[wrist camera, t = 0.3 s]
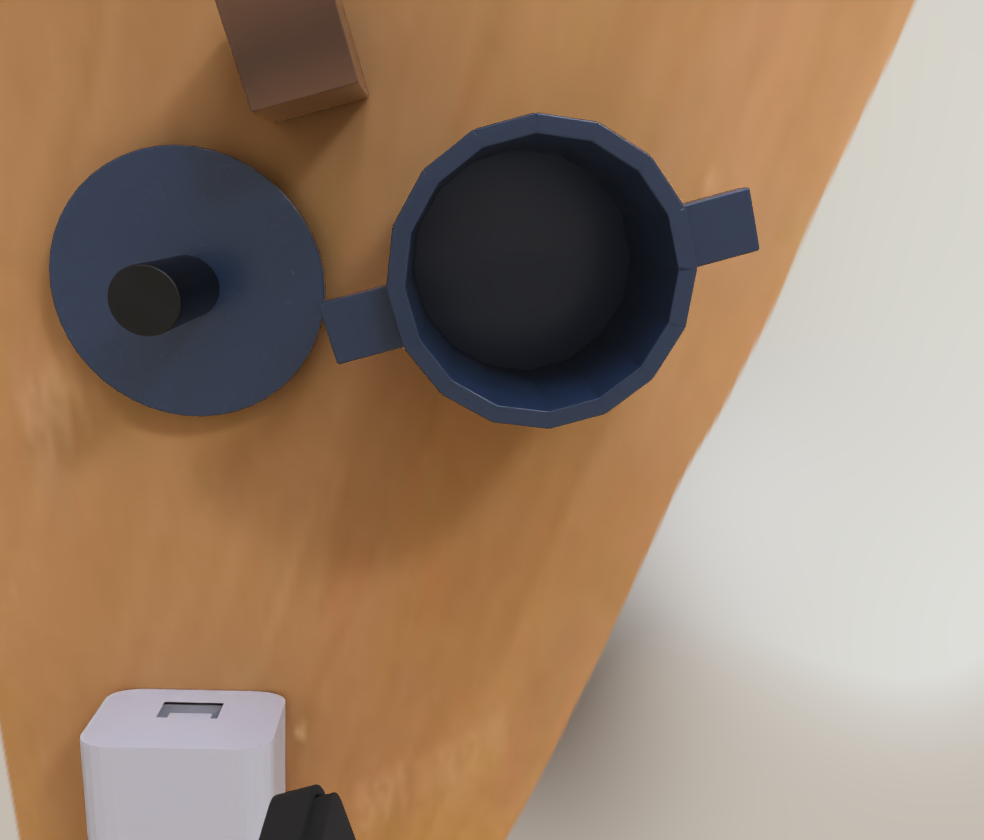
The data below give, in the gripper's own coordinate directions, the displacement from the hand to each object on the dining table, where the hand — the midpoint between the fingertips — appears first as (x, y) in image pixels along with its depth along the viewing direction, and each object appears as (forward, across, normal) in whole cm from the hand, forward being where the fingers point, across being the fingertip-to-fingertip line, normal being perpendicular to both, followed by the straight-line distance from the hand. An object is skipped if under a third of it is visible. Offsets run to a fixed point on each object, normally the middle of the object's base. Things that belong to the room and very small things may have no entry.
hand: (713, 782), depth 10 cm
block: (+30, +6, -15) cm, 34 cm away
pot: (+30, -1, -4) cm, 30 cm away
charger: (+30, +23, +20) cm, 43 cm away
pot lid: (+29, +14, -7) cm, 33 cm away
